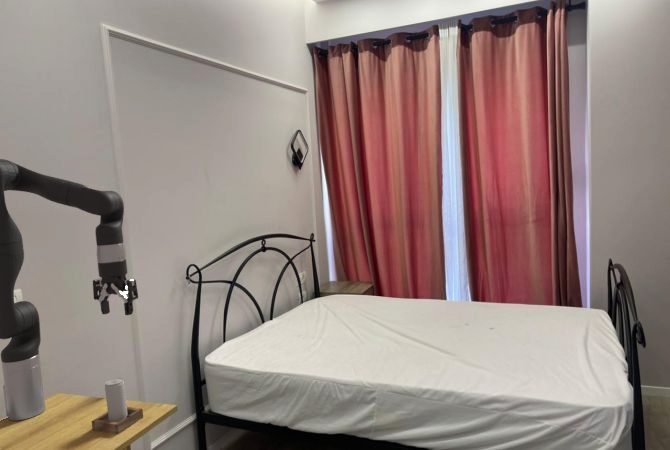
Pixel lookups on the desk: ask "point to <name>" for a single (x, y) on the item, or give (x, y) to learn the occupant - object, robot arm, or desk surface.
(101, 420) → the collar
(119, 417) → the beverage can
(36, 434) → the desk surface
